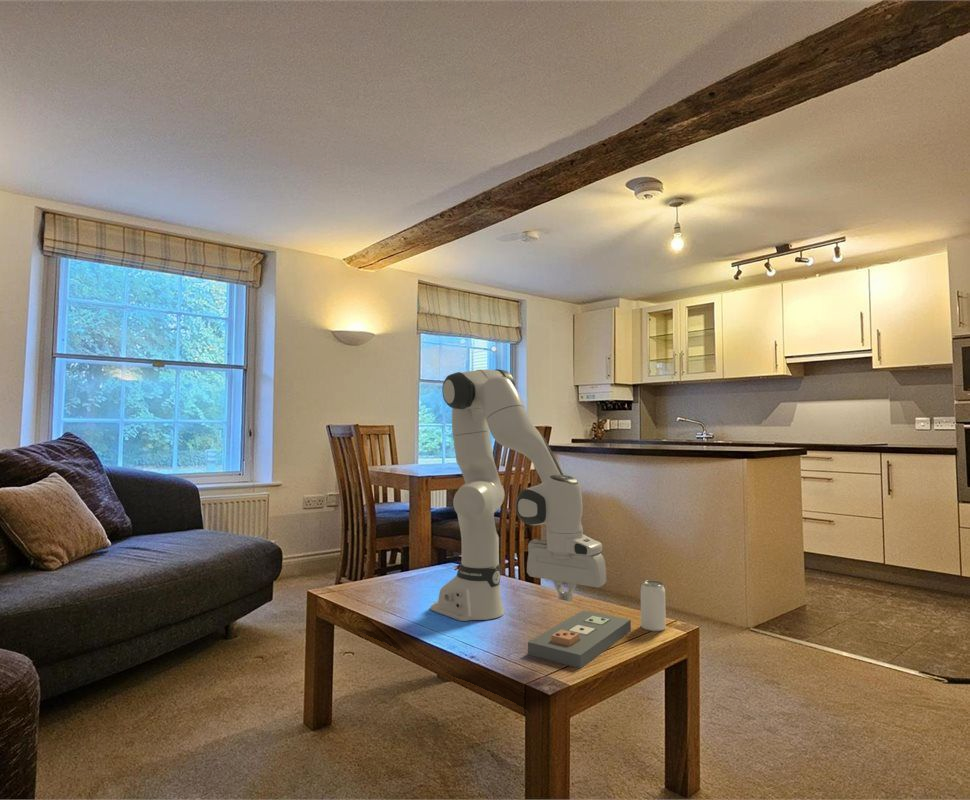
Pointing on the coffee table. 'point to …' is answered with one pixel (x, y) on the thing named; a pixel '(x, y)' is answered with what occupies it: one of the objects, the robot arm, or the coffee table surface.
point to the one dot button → (582, 630)
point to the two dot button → (597, 620)
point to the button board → (580, 640)
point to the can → (653, 606)
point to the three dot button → (565, 638)
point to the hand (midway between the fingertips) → (565, 599)
